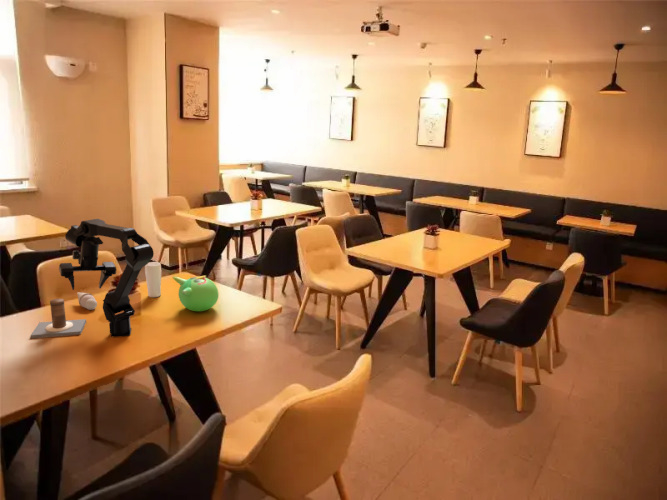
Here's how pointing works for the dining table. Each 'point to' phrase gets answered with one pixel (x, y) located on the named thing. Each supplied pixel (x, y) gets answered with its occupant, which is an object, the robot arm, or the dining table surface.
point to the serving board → (58, 329)
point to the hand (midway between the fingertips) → (86, 288)
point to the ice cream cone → (87, 300)
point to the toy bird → (197, 293)
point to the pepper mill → (58, 313)
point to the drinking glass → (153, 278)
